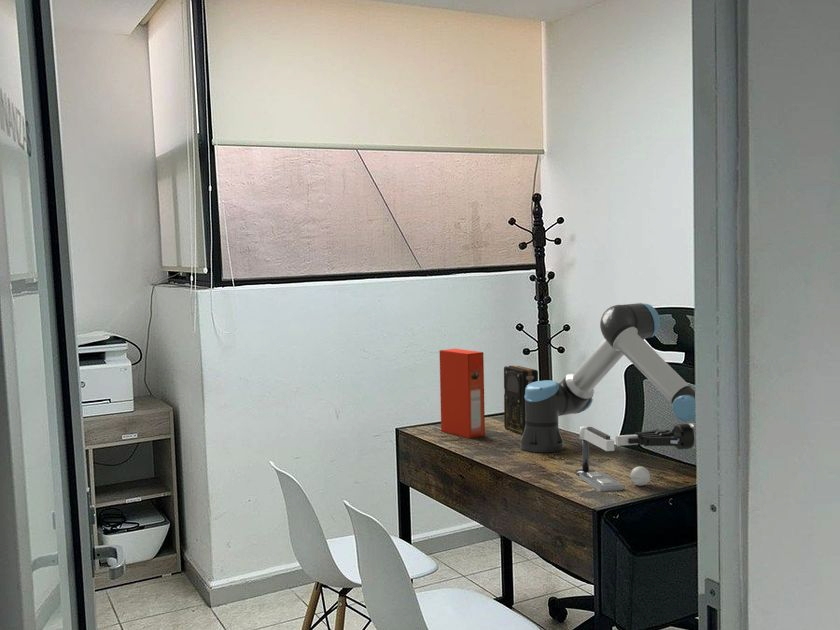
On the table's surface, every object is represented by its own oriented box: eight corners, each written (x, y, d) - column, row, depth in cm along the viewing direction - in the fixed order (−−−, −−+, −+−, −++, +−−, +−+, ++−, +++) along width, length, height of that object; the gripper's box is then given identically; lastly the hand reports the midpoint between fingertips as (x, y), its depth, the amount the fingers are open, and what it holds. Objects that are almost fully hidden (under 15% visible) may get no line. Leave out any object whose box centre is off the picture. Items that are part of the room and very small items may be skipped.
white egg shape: (626, 484, 257) (626, 465, 257) (643, 482, 259) (643, 463, 259) (640, 490, 250) (640, 471, 250) (657, 488, 252) (657, 469, 251)
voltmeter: (501, 428, 341) (501, 365, 340) (520, 426, 345) (520, 364, 343) (521, 436, 327) (521, 370, 325) (541, 433, 330) (540, 369, 329)
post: (573, 472, 272) (572, 438, 271) (590, 471, 273) (590, 437, 272) (580, 477, 266) (580, 442, 265) (598, 475, 267) (598, 441, 266)
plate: (579, 477, 265) (579, 471, 265) (600, 476, 266) (600, 470, 266) (600, 491, 249) (600, 485, 249) (622, 489, 251) (622, 483, 251)
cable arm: (577, 437, 270) (577, 424, 270) (588, 437, 271) (588, 423, 270) (604, 452, 250) (604, 437, 249) (616, 451, 250) (616, 437, 250)
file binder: (468, 438, 324) (467, 353, 322) (440, 431, 338) (439, 350, 336) (484, 435, 329) (484, 352, 327) (456, 428, 343) (455, 348, 341)
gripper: (700, 453, 255) (626, 458, 251) (678, 443, 268) (607, 448, 263) (700, 428, 255) (626, 432, 250) (678, 420, 268) (607, 424, 263)
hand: (616, 440), depth 257 cm, fingers closed
